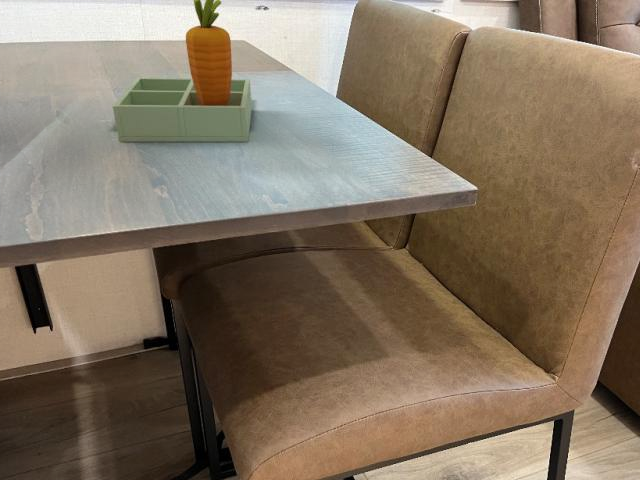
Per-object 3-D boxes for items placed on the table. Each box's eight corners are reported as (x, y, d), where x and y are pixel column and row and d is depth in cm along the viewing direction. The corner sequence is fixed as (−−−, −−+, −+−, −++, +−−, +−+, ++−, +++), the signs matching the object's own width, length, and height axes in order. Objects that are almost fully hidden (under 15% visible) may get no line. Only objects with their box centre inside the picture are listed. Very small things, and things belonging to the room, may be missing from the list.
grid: (119, 141, 74) (112, 106, 72) (141, 108, 86) (136, 77, 84) (247, 141, 76) (245, 107, 74) (251, 109, 88) (249, 79, 86)
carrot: (194, 121, 80) (179, -12, 72) (235, 119, 81) (224, -11, 73) (196, 132, 75) (180, -7, 68) (239, 131, 77) (228, -6, 69)
